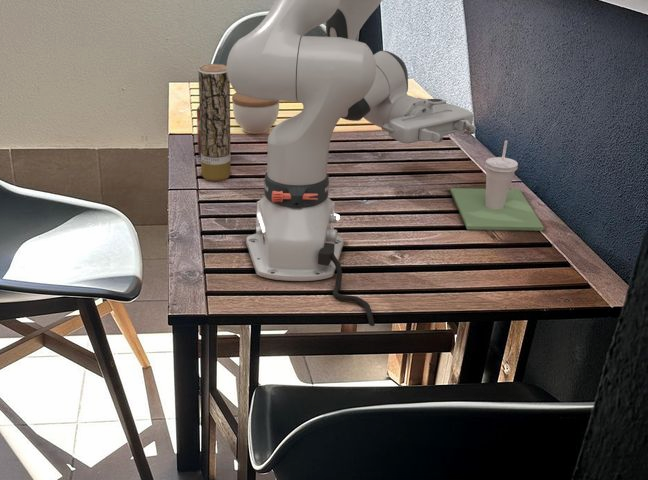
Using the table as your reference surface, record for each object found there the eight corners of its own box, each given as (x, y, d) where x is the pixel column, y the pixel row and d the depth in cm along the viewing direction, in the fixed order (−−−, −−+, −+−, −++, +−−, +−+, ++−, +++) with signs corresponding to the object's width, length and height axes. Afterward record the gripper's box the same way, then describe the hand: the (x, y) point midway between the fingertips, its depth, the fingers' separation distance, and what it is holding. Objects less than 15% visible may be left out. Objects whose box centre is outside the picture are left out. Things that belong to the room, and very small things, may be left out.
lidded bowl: (254, 140, 210) (254, 97, 205) (222, 129, 218) (222, 88, 213) (288, 129, 217) (290, 88, 212) (256, 119, 226) (257, 79, 220)
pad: (543, 230, 161) (544, 227, 161) (466, 229, 162) (467, 225, 162) (519, 192, 178) (519, 189, 178) (449, 191, 179) (450, 188, 179)
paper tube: (227, 183, 185) (226, 72, 172) (198, 181, 186) (195, 71, 173) (233, 172, 191) (232, 64, 178) (205, 170, 192) (202, 63, 179)
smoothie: (514, 204, 171) (525, 139, 164) (505, 214, 166) (517, 149, 159) (484, 198, 174) (494, 134, 167) (474, 208, 169) (484, 143, 162)
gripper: (378, 111, 176) (422, 128, 166) (447, 97, 185) (493, 112, 175) (375, 139, 180) (418, 157, 169) (443, 124, 189) (488, 140, 178)
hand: (457, 134), depth 172 cm, fingers open, 8 cm apart
